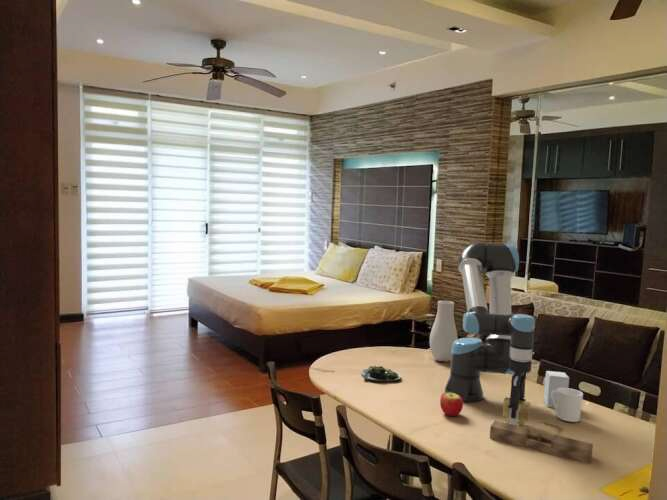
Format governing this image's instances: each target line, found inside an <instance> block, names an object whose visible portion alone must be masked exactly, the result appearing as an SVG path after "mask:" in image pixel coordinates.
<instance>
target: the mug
mask: <svg viewBox="0 0 667 500" xmlns="http://www.w3.org/2000/svg"><path fill="white" fill-rule="evenodd" d="M555 392H557V406H556V404H555V401H554V397H553V393H555ZM551 398H552V402H553V405H554V408H553V409H554V410H555V411H556V412H555V417H556V419H558V420H559V421H561V422H564V423H568V424H577V423H580V420H581V413H582V405H583V404H582V403H583V398H584V393H583V392H582V391H580V390H577V389H574V388H569V387H568V388H558V389H557V391H552V392H551Z"/></svg>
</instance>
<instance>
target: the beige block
mask: <svg viewBox="0 0 667 500" xmlns="http://www.w3.org/2000/svg"><path fill="white" fill-rule="evenodd" d="M509 404H510V397H507V396H505V397H504V398H503V404H502V405H503V406H502V417H505V418H506V422H505V423H508V424H509V417H510V408H508V406H509ZM518 409H519V413H518V426H520V427H524V428H525V423H526V422H529V421H530V411H531V402H530V401H527V400H526V401H521V400H519V405H518Z"/></svg>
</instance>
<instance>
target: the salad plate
mask: <svg viewBox="0 0 667 500" xmlns="http://www.w3.org/2000/svg"><path fill="white" fill-rule="evenodd" d="M360 372H361V375H362V376H363V379H365V380H367V381H369V382H371V383H377V384H389V383H388V382H394V383H397V381H398V382H400V381H401V380H402V375H401V374H399V373H398V372H397V371H395V370H394V369H392V368H386V367H384V366H381V365H380V366H379V365H378V366H377V365H376V364H375V365H373V366H372V365H370V366H368V368H366V369H365V368H364V369H362V370H360ZM385 372H387V373H385Z"/></svg>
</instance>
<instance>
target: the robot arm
mask: <svg viewBox="0 0 667 500" xmlns="http://www.w3.org/2000/svg"><path fill="white" fill-rule="evenodd" d="M519 264H520V255H519V252H518V249H517V247H516V246H515V245H514V244H510V243H509V244H508V243H505V242H504V243H503V242H502V243H501V242H500V243H498V242H497V243H495V242H481V241H479V242H473V243H471V244H469V245H468V246H466V247H465V248H464V249H463V250H462V251H461V252H460V255H459V257H458V261H457V267H458V272H459V273H460V274H461V277H462V284H463V292H464V297H465V305H466V311H467V312H465V313H464V314H463V317H462V329H463V331H464V332H465V333H468V334H475V335H477V334H479V335H488V336H487V337H486V338H485V342H483V340H482V339H481V338H478V337H461V338H458V339H457V340H455V341H454V342H453V345H452V351H451V353H452V357H451V360H450V373H449V374H450V375H449V377H448V380H447V382H446V384H445V387H444V393H455V394H457V395H459V396H460V397H461V398H462V400H463V403H464V402H465V403H476V402H477V403H478V402H480V401H482V400H483V398H484V391H483V388H482V383H481V380H480V377H481V373H491V374H503V375H512V374H513V375H512V376H511V380H510V381H511V385H510V386H511V387H510V396H509V398H510V404H509V406H508V408H510V417H509V424H512V425H516V426H519V420H518V413H519V409H518V405H519V400H521V401H526V402H527V400H526V398H525V395H526V394H525V393H526V392H525V391H526V378H527V377H526V376H527V374H528V373H531V371H532V364H533V363H532V360H533V355H535V351H533V349H534V339H535V338H534V337H535V329H536V325H535V323H536V321H535V318H534V316H532V315H529V314H524V313H516V314H515V313H512V288H511V287H512V285H511V284H512V283H511V280H512V279H513V277H514V276H515V272H518V270H519V267H520V266H519ZM482 270H483V271H485V276H487V278H488V285H489V288H488V289H489V310H488V304H487V298H486V293H485V287H484V282H483V281H484V280H483V277H482ZM448 387H449V388H450V389H449V388H448ZM450 390H451V391H450Z"/></svg>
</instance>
